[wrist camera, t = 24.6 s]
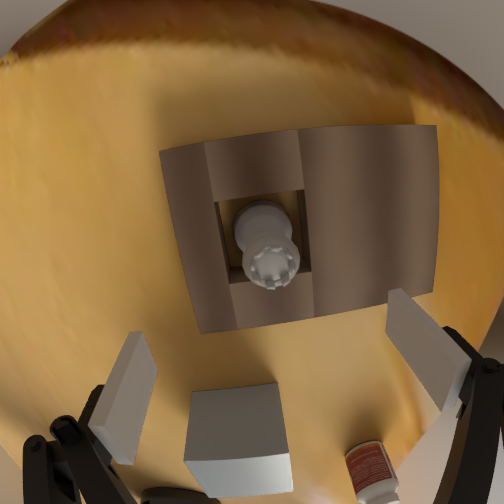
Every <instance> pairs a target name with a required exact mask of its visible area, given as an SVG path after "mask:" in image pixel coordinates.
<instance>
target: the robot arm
mask: <svg viewBox="0 0 504 504" xmlns="http://www.w3.org/2000/svg"><path fill="white" fill-rule="evenodd" d="M385 333H386V334H387V335H388V337H389V338H390V340H391V341H392V342H393V344H394V345H395V346H396V348H397V349H398V351H399V352H400V353H401V355H402V356H403V357H404V359H405V360H406V362H407V363H408V364H409V366H410V367H411V369H412V370H413V372H414V373H415V374H416V376H417V377H418V379H419V380H420V382H421V383H422V385H423V386H424V387H425V389H426V390H427V392H428V393H429V395H430V396H431V398H432V399H433V401H434V402H435V404H436V405H437V407H438V408H439V410H440V411H441V412H443V411H445V410H447V409H449V408H452V407H454V406H455V404H456V402H457V399H458V397H459V398H460V399H461V401H462V405H461V407H460V409H459V412H458V414H457V416H456V418H458V422H457V426H456V430H455V435H454V439H453V443H452V447H451V450H450V454H449V458H448V461H447V465H446V468H445V471H444V474H443V477H442V480H441V483H440V486H439V489H438V492H437V494H436V497H435V500H434V502H433V504H487V500H488V496H489V492H490V488H491V483H492V479H493V473H494V468H495V462H496V456H497V450H498V443H499V435H500V426H501V432H502V439H503V446H504V364H500V363H499V362H498V361H497V360H495V359H492V358H483V357H482V356H481V355H480V354H479V353H478V352H477V351H476V350H475V349H474V348H473V347H472V346H471V345H470V344H469V343H468V342H467V341H466V340H465V339H464V338H462V336H461V335H460V334H459V333H458V332H457V331H456V330H454V329H452V328H450V327H448V326H445V327H443V328H441V327H440V326H439V325H438V324H437V323H436V322H435V321H434V320H433V319H432V318H431V317H430V316H429V315H428V314H427V313H426V312H425V311H424V310H423V309H422V308H421V307H420V306H419V305H418V304H417V303H416V302H415V301H414V300H413V299H412V298H411V297H410V296H409V295H408V294H407V293H405V292H404V291H403V290H402V289H401V288H398V289H394V290H390V291H389V292H388V308H387V321H386V332H385ZM157 372H158V369H157V367H156V364H155V362H154V359H153V357H152V354H151V352H150V349H149V347H148V344H147V342H146V339H145V336H144V334H143V331H138V332H130V333H129V335H128V337H127V339H126V341H125V343H124V345H123V347H122V349H121V351H120V353H119V355H118V358H117V360H116V362H115V364H114V366H113V368H112V371H111V373H110V375H109V377H108V379H107V382H106V384H105V385H98V386H97V387H96V388H95V389H94V390H93V391H92V392H91V394H90V396H89V398H88V401H87V403H86V405H85V407H84V409H83V411H82V414H81V416H80V418H79V420H78V423H77V421H76V420H75V419H74V417H72V416H70V415H63V416H60V417H58V418H57V419H55V420H54V421H53V422H52V424H51V426H50V433H51V434H52V436H53V437H54V438H55V439H56V441H49V442H47V441H46V439H45V438H44V437H43V436H41V435H33V436H31V437H29V438H28V439H27V440H26V441H25V443H24V446H23V496H24V497H23V498H24V504H82V502H81V497H80V492H81V494H82V496H83V498H84V500H85V502H86V504H137V502H136V501H135V499H134V498H133V497H132V495H131V494H130V492H129V491H128V489H127V488H126V486H125V485H124V483H123V482H122V480H121V479H120V477H119V476H118V474H117V473H116V471H115V469H114V468H113V466H112V465H111V464H110V462H111V459H112V457H113V459H114V460H115V461H116V462H117V463H118V464H124V465H134V461H135V457H136V452H137V448H138V444H139V440H140V436H141V432H142V428H143V424H144V420H145V416H146V412H147V409H148V405H149V401H150V397H151V394H152V390H153V387H154V383H155V379H156V376H157ZM79 490H80V492H79ZM140 504H221V503H220V502H219V501H218V500H216V499H215V498H209V497H208V496H207V495H205V494H201V493H198V492H193V491H189V490H183V489H175V488H151V489H147V490H145V491H143V492H142V496H141V501H140Z"/></svg>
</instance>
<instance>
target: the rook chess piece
mask: <svg viewBox="0 0 504 504" xmlns="http://www.w3.org/2000/svg"><path fill="white" fill-rule="evenodd" d="M292 229H293V228H292V225H291V222H290V218H289V215H288V214H287V212H286V211H285V210H284V209H283V208H282V207H281V206H280V205H278V204H276V203H274V202H272V201H265V200H258V201H255V202H252V203H248V204H247V205H246V206H245V207H243V208H242V209H241V210H240V211H239V212H238V214H237V216H236V218H235V220H234V225H233V234H234V238H235V241H236V243H237V246H238V247H239V248H240V249H241V250H242V252H243V260H242V266H243V269H244V272H245V275H246V276H247V277H248V278H249V279H250V280H251V281H252V282H253V283H255V284H257V285H259V286H261V287H266V289H273V290H275V287H278V286H281V285H283V286H286V285H287V284H288V283H290V282H291V279H292V278H293V277H294V275H295V274H296V272H297V271H298V269H299V263H300V255H299V252H298V248H297V247H296V245H295V244H294V243H293V242H292V241H291V237H292Z"/></svg>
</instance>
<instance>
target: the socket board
mask: <svg viewBox="0 0 504 504" xmlns="http://www.w3.org/2000/svg"><path fill="white" fill-rule="evenodd" d="M159 155H160V161H161V166H162V172H163V177H164V182H165V187H166V192H167V197H168V202H169V207H170V212H171V217H172V221H173V226H174V231H175V235H176V240H177V244H178V248H179V253H180V257H181V261H182V265H183V269H184V274H185V278H186V282H187V286H188V289H189V293H190V297H191V301H192V305H193V309H194V312H195V316H196V320H197V323H198V327H199V330H200V334H206V333H215V332H223V331H231V330H238V329H246V328H253V327H260V326H267V325H273V324H280V323H286V322H292V321H298V320H304V319H310V318H315V317H321V316H326V315H332V314H337V313H342V312H347V311H352V310H357V309H362V308H367V307H371V306H376V305H380V304H385V303H388V292H389V291H390V290H394V289H398V288H401V289H402V290H403V291H404V292H405V293H407V294H408V295H409V296H410V297H415V296H419V295H423V294H427V293H431V292H432V291H433V284H434V275H435V266H436V256H437V243H438V226H439V158H438V141H437V129H436V125H400V124H393V125H351V126H333V127H318V128H306V129H295V130H285V131H276V132H268V133H260V134H252V135H245V136H238V137H232V138H225V139H219V140H213V141H208V142H202V143H197V144H191V145H186V146H181V147H176V148H172V149H167V150H162V151H159ZM294 190H297V195H298V205H299V214H300V224H301V235H302V245H303V257H300V263H299V269H298V271H297V272H296V274H295V275H294V277H293V278H292V279H291V282H290V283H288V284H287V285H286V286H283V285H281V286H278V287H275V290H273V289H266V287H261V286H259V285H257V284H255V283H253V282H252V281H251V280H250V279H249V278H248V277H247V276H246V275H245V272H244V269H243V266H238V267H231V268H230V265H229V260H228V255H227V249H226V244H225V238H224V232H223V227H222V221H221V215H220V210H219V204H218V201H224V200H231V199H237V198H244V197H250V196H257V195H264V194H271V193H279V192H286V191H294Z"/></svg>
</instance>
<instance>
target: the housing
mask: <svg viewBox="0 0 504 504" xmlns="http://www.w3.org/2000/svg"><path fill="white" fill-rule="evenodd" d="M184 463H185V464H186V466H187V467H188V469H189V470H190V472H191V473H192V475H193V476H194V478H195V479H196V480H197V482H198V483H199V485H200V486H201V488H202V489H203V490H204V492H205V493H206V495H207V496H208V497H209V498H226V497H245V496H257V495H267V494H276V493H283V492H290V491H293V482H292V474H291V465H290V457H289V449H288V443H287V437H286V431H285V424H284V418H283V412H282V406H281V400H280V393H279V387H278V383H271V384H264V385H257V386H249V387H240V388H231V389H221V390H210V391H197V392H192V399H191V407H190V414H189V421H188V429H187V437H186V445H185V453H184Z"/></svg>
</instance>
